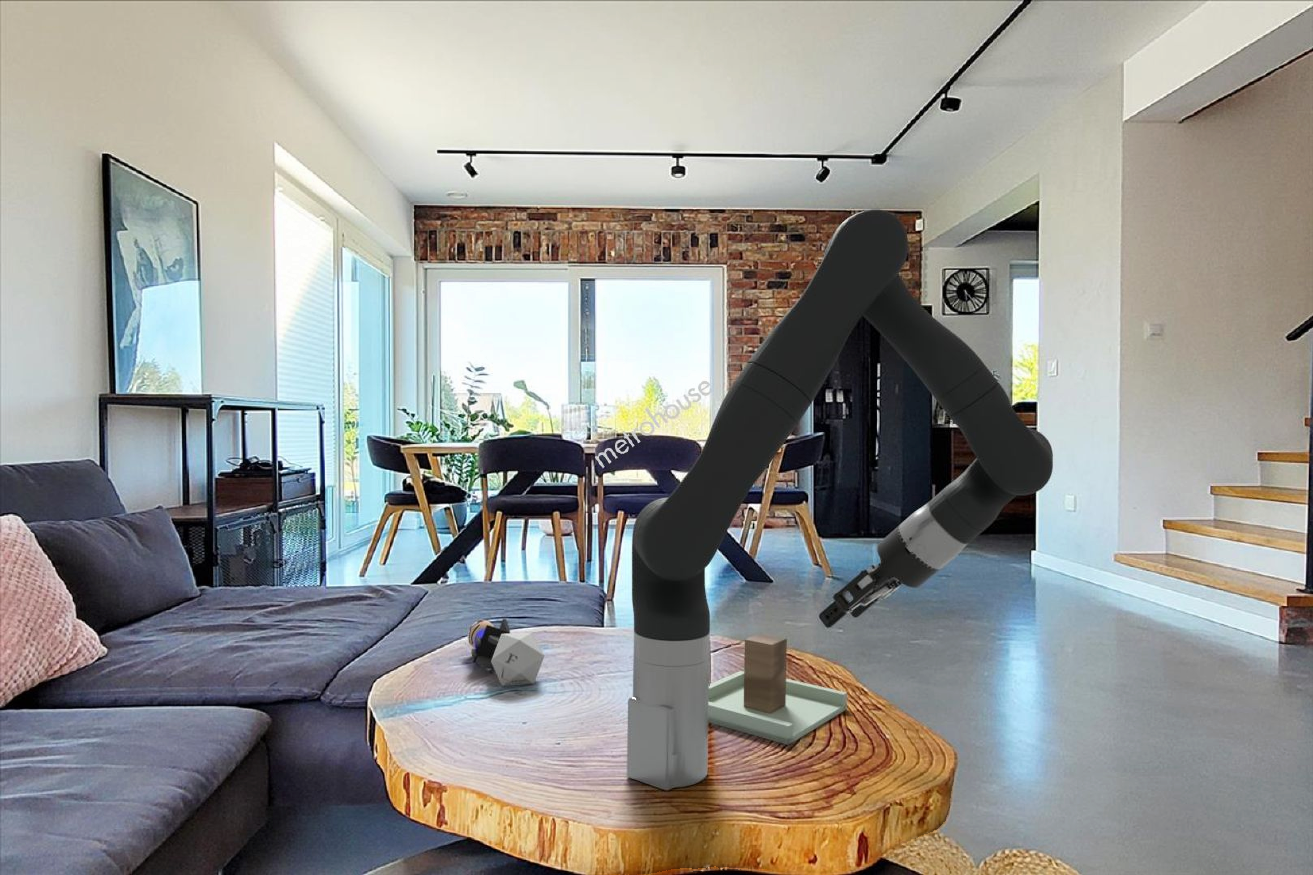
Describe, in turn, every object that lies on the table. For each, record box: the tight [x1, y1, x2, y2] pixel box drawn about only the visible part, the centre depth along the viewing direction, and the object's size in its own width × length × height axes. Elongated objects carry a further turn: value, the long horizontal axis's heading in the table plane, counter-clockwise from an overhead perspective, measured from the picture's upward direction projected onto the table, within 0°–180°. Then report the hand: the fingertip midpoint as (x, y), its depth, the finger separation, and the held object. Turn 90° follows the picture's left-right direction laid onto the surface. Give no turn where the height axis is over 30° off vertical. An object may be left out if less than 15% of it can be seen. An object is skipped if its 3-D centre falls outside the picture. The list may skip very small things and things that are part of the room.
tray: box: [708, 669, 848, 746], centre depth 122 cm, size 18×18×2 cm
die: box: [491, 631, 545, 687], centre depth 134 cm, size 8×9×10 cm
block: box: [743, 633, 788, 714], centre depth 122 cm, size 4×4×10 cm
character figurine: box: [467, 618, 511, 671], centre depth 145 cm, size 8×7×15 cm
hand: (837, 616), depth 115 cm, fingers open, 8 cm apart
